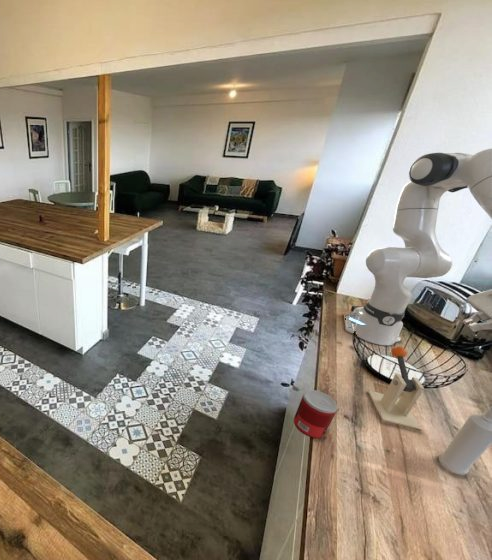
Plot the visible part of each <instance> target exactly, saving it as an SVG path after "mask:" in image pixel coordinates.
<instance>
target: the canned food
mask: <svg viewBox="0 0 492 560" xmlns="http://www.w3.org/2000/svg"><path fill="white" fill-rule="evenodd" d="M337 411H338V404H337V402H336V401H335V400H334V398H332V397H331V396H330V395H328V394H326V393H324V392H322V391H320V390H315V389H309V390H305V391H304V393H303V394H302V397H301V399H300V402H299V404H298V407H297V409H296V413H295V414H294V417H293V424H294V426H295V428H296V429H297V430H298V431H299V432H300V433H302V434H303V435H304V436H306V437H309V438H312V439H321V438H323V437H324V436H325V435H326V433H327V432H328V429H329V427H330V425H331V423H332V421H333V420H334V417H335V415H336V413H337Z"/></svg>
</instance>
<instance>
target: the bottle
mask: <svg viewBox="0 0 492 560" xmlns="http://www.w3.org/2000/svg"><path fill="white" fill-rule="evenodd" d="M491 445H492V405H490V406H489V408H488V409H487V410H486V412H485V413H481V414H478V413H472V414H470V415H469V417H468V418H467V419H466V421H465V422H464V424H463V425H462V427H461V428H460V429H459V430H458V432H457V433H456V435H455V436H454V438H453V439H452V441H451V442H450V444H449V445H448V446H447V448H446V449H445V450H444V452H443V453H441V454H440V455H439V456H438V461H439V463H440V464H441V465H442V466H443V467H444V468H445V469H446V470H448V471H450V472H452V473H454V474H457V475H459V476H466V475H467V474H468V473H469V471H470V468H471V467H472V466H473V465H474V464H475V462H477V460H478V459H479V458H480V457H481V456H482V455H483V454H484V453H485V452H486V450H488V448H490V446H491Z"/></svg>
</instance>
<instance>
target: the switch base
mask: <svg viewBox="0 0 492 560" xmlns="http://www.w3.org/2000/svg"><path fill="white" fill-rule="evenodd" d="M410 380H413V383H414V386H415V390H413V391H412V392H407V391H403V390H404V388H405V386H406V385H407V384H406V383H405V381H404V380H403V378H402V376H401V373H400V374H399V373H395V374H394V376H393V377H392V379H391V381H390V383H389V385H388V387H387V389H386V390H385V391H384V393H381V392H376V391H374V390H373V391H372V390H368V391H367V392H368V394H369V397H370V399H371V401H372V402H373V403H372V404H373V405H374V407H375V408H376V411H377V413H378V414H379V416H380V419H381V420H382V421H383V422H388V423H390V424H394V425H395V424H396V425H399V426H403V427H407V428H411V429H415V430H419V431H421V430H422V427H421V426H420V424H419V422H418V421H417V419H416V417H415V416H414V414H413V412H412V411H411V410H412V408H414V406H415V404H416V403H417V401H418V399H419V397H421V394H422V393H423V391H424V390H425V386H423V384H422V383H421V382H420V380H419V379H418V377H414V376H412V378H411V379H410Z"/></svg>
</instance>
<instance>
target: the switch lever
mask: <svg viewBox="0 0 492 560" xmlns="http://www.w3.org/2000/svg"><path fill="white" fill-rule="evenodd" d="M390 353H391V355H392V356H393V357H394V358H396V359H397V362H398V367H399V372H400V375H401V377H402V378H403V380H404V381H405V383H406V384H407V385H406V386H405V388H404V390H403V391H402V392H404V391H407V392H412V391H413V390H415V386H414V383H413V380H411V379H409V374H408V371H407V367H406V362H405V357H406V356H407V355H408V352H407V350H406V349H405V347H403V346H393V347H392V348H391V349H390Z"/></svg>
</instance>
